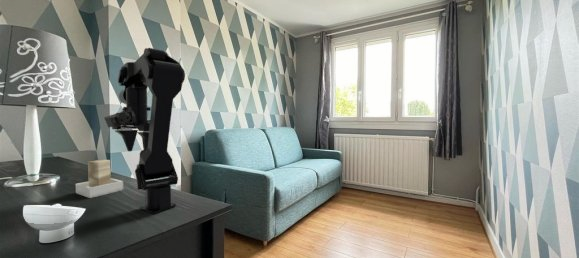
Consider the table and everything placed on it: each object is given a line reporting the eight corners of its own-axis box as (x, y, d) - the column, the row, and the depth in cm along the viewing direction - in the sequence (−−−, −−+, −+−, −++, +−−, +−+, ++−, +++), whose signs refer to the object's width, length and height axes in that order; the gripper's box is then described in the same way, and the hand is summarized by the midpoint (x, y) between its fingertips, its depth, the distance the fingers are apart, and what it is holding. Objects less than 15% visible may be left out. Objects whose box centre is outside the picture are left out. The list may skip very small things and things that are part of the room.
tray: (123, 190, 80) (123, 181, 80) (90, 198, 72) (89, 188, 72) (108, 186, 84) (108, 177, 84) (75, 193, 76) (75, 183, 76)
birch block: (110, 188, 79) (110, 160, 79) (99, 192, 76) (98, 162, 75) (100, 187, 80) (100, 159, 80) (88, 191, 76) (87, 161, 76)
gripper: (92, 103, 74) (93, 153, 75) (126, 102, 65) (127, 158, 66) (130, 105, 84) (131, 149, 85) (164, 104, 75) (165, 153, 76)
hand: (137, 152), depth 77 cm, fingers open, 9 cm apart
